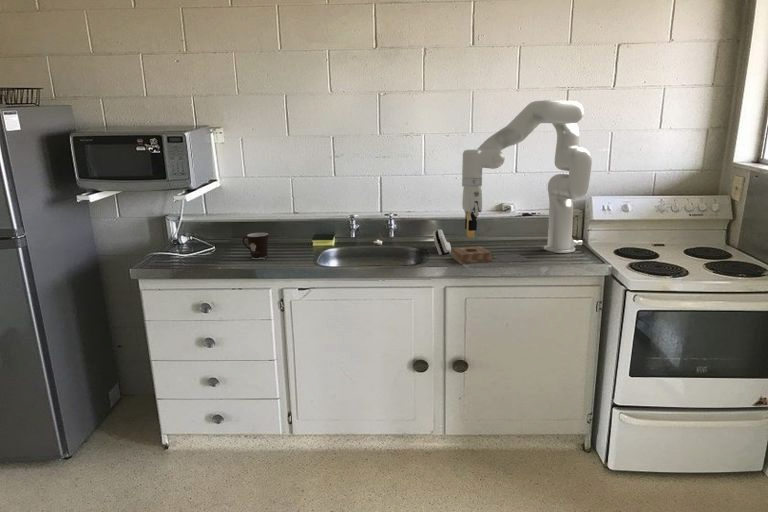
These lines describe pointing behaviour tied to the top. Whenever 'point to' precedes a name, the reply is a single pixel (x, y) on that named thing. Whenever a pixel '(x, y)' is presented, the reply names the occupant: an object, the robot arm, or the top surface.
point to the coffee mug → (257, 244)
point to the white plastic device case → (441, 242)
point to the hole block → (471, 255)
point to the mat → (509, 258)
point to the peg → (469, 233)
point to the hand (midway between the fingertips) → (470, 229)
